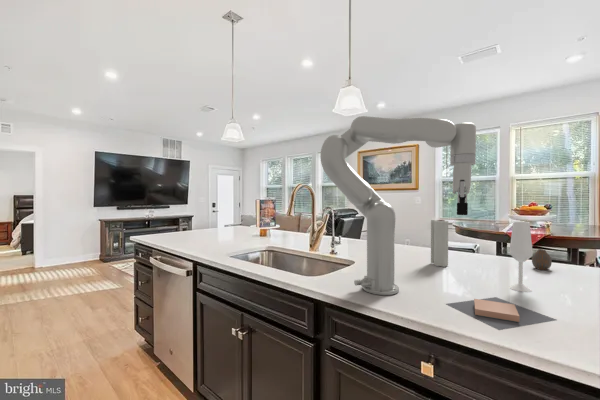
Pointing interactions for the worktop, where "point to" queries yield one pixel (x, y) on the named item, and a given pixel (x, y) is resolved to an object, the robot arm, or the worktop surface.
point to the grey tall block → (439, 242)
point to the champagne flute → (521, 250)
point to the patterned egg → (541, 260)
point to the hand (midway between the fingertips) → (462, 214)
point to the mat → (524, 319)
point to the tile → (496, 310)
